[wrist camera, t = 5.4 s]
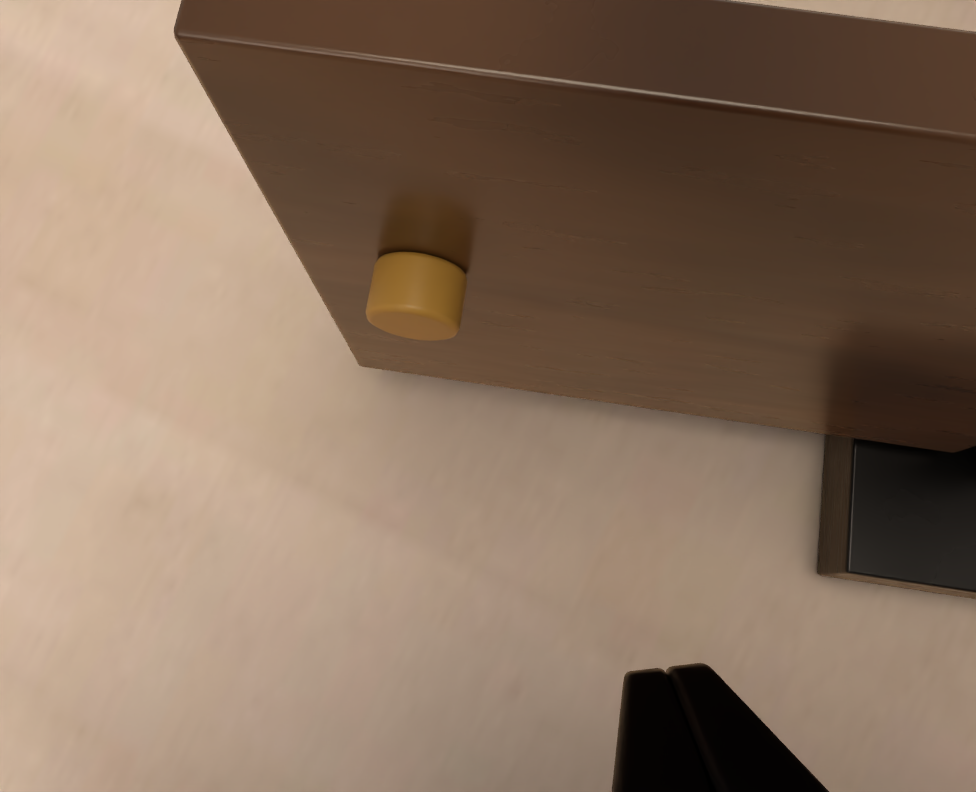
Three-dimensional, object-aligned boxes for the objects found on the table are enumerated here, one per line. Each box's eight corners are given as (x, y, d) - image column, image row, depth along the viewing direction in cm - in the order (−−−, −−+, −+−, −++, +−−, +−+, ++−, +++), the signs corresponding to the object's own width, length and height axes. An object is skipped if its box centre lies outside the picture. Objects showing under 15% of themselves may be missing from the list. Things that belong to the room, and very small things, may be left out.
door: (956, 403, 16) (1656, 114, 6) (954, 495, 16) (1695, 335, 6) (367, 318, 17) (197, -72, 7) (350, 406, 16) (143, 123, 6)
